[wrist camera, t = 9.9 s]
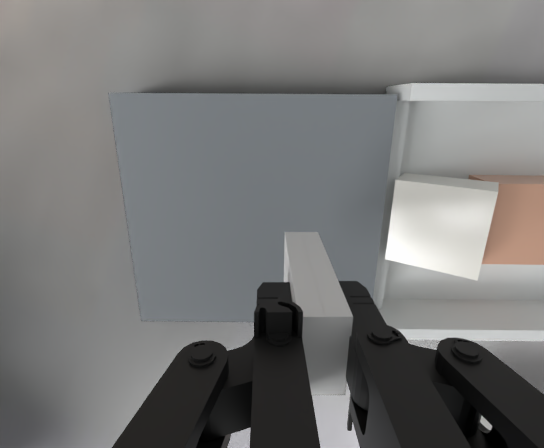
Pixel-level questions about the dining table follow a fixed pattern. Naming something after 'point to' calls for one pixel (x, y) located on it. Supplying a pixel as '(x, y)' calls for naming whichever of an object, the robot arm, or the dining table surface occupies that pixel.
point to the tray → (460, 164)
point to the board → (246, 192)
